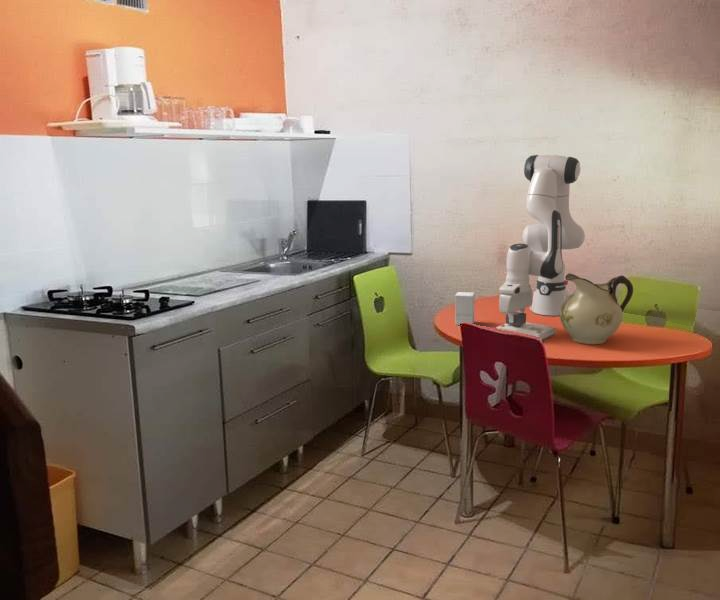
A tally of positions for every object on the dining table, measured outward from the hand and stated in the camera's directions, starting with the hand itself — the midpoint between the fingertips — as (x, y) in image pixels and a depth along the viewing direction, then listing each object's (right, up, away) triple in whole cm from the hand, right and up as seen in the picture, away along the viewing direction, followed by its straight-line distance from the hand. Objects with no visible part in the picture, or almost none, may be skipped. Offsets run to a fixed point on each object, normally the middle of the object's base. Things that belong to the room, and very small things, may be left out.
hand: (515, 320), depth 277 cm
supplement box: (-18, -2, +16) cm, 24 cm away
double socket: (+3, -5, -2) cm, 7 cm away
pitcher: (+26, -7, -9) cm, 28 cm away
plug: (0, -3, +1) cm, 3 cm away
